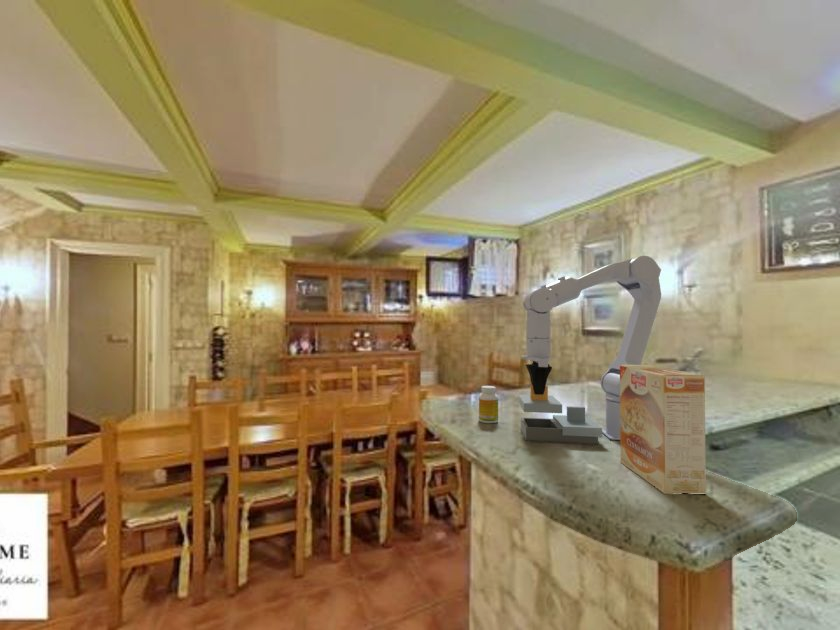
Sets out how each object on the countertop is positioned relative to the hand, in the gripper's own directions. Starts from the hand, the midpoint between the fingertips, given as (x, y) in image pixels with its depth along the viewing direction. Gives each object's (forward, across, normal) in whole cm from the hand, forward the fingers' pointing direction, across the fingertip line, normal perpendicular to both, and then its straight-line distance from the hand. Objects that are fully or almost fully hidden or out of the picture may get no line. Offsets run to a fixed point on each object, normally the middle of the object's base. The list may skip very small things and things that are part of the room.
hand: (538, 393), depth 95 cm
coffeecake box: (+11, +23, +17) cm, 31 cm away
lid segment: (+8, 0, +9) cm, 12 cm away
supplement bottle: (+11, -13, -12) cm, 20 cm away
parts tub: (+10, 0, +4) cm, 11 cm away
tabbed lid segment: (+3, 0, 0) cm, 3 cm away
